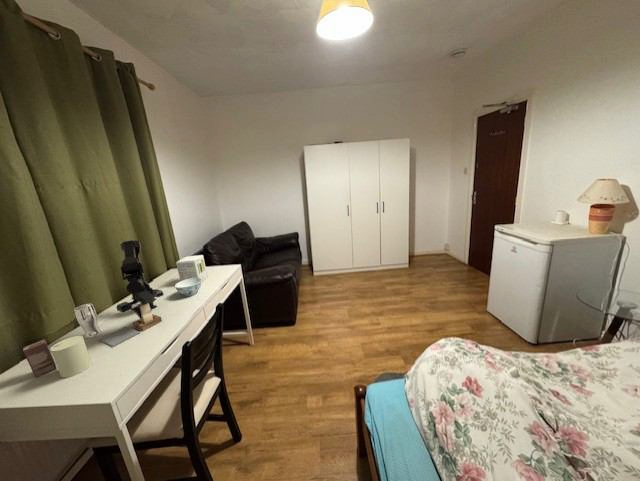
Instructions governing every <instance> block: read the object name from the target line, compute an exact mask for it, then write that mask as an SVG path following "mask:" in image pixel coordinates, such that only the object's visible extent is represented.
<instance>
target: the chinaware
mask: <svg viewBox="0 0 640 481" xmlns="http://www.w3.org/2000/svg"><path fill="white" fill-rule="evenodd" d="M201 286H202V283H201V278H190V279H186V280H183V281H178V282H176V283H175V285H174V287H175V290H176V291H177V292H178V293H180V294H182V295H184V296H186V297H191V296H194V295H196V294H197V292H198V291H199V290H200V288H201Z"/></svg>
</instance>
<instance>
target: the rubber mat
mask: <svg viewBox="0 0 640 481" xmlns="http://www.w3.org/2000/svg"><path fill="white" fill-rule="evenodd" d="M140 334H141V331H139V330H137V329H134V328H131V327H129V326H123V327H121V328H119V329H117V330H114V331H113V332H110V333H108V334H106V335H104V336H102V337H100V338H98V340H99V341H100V342H102V343H104V344H106V345H108V346H110V347H112V348H115V347H117V346H118V345H120V344H122V343H124V342H126V341H128V340H130V339H132V338H134V337H135V336H137V335H140Z"/></svg>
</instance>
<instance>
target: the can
mask: <svg viewBox="0 0 640 481" xmlns="http://www.w3.org/2000/svg"><path fill="white" fill-rule="evenodd" d="M49 349H50V352H51V354H52V356H53V359H54V361H55V363H56V367H57V369H58V371H59V375H60V378H63V379H66V378H71V377H73V376H76V375H79V374H81V373H82V372H84V371H86V370H88V368H90V367H91V366H92V365H93V360H92V359H91V356H90V353H89V351H88V348H87V346H86V343H85V340H84V337H83V335H74V336H70V337H68V338H65V339H63V340H60V341H59V342H57V343H55V344H53V345H52V346H51V347H50V348H49Z"/></svg>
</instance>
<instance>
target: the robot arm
mask: <svg viewBox="0 0 640 481" xmlns="http://www.w3.org/2000/svg"><path fill="white" fill-rule="evenodd" d="M119 245H120V248H121V249H120V250H121V251H122V252H123V254H124V259H123V260H122V261H121V266H120V270H121V277H122V280H123V281H125V280H127V284H126V287H125V288H126V291H127V292H128V293H129V294H131V300H132V301H129V302H128V301H124V302H122V303H118V304H117V305H116V307H115V308H116V310H117V312H120V313H126V312H128V311H132V312H134V313H135V314H136V315H137V317H138V318H139V317H140V318H142V316H141V313H140V311H139V306H137V304H140V303H142V304H144V305H145V304H147V303H149V306H150V309H151V311H152V310H153V309H156V308H157V307H158V306H157V304H156V305H155V304H154V302H155V301H156V300H157V298H160V297H163V296H164V295H165V294H164V292H163V290H161V289H157V288H156V289H153V288H152V287H151V285H150V283H148V282H147V280H145V276H144V273H145V270H144V265H143V264H142V262H141V260H140V253H141V252H142V251H141V248H142V244H141V242H140V240H134V239H130V240H124V241H122V242H121V243H119ZM140 318H139V319H140Z"/></svg>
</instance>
